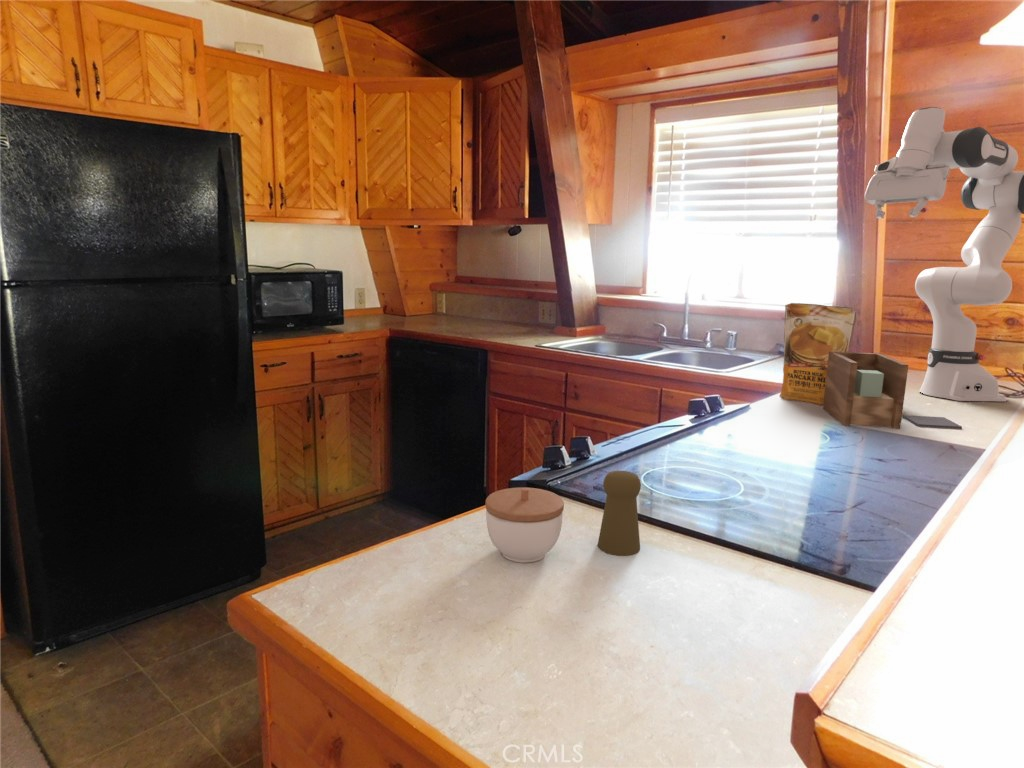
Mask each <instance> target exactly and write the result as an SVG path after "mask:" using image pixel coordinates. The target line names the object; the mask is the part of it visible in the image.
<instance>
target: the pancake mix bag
mask: <svg viewBox="0 0 1024 768" xmlns="http://www.w3.org/2000/svg"><path fill="white" fill-rule="evenodd" d="M784 308H785V309H784V311H785V312H784V314H785V315H784V334H783V335H784V336H783V368H782V369H783V370H782V371H783V372H782V373H783V378H782V384H781V385H782V386H781V390H780V393H779V397H780V398H783V399H785V400H788V401H794V402H798V403H799V402H800V403H805V404H812V405H817V406H823V403H824V394H825V384H826V375H827V366H828V357H829V351H830V352H849V351H850V348H851V343H852V338H853V333H854V328H855V325H856V321H857V311H856V310H855V311H853V307H848V306H835V305H834V306H832V305H825V304H815V303H800V302H799V303H798V302H796V303H795V302H790V303H787V304H785V305H784Z"/></svg>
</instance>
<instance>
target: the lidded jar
mask: <svg viewBox="0 0 1024 768" xmlns="http://www.w3.org/2000/svg"><path fill="white" fill-rule="evenodd" d="M564 505H565V501H564V500H563V498H562V497H561V496H559V495H558V494H556V493H555V492H552V491H549V490H546V489H542V488H534V487H510V488H504V489H503V488H502V489H500V490H496V491H494V492H492V493H490V494H489V495H488V496H487V498H486V499H485V510H486V513H485V514H486V515H485V516H486V519H485V521H486V526H487V527H486V528H487V532H488V536H489V539H490V540H491V542H492V544H493V545H494V547H495V548H496V549H497V550H498V551H499V552H500V553H501V556H502V557H503V558H505V559H506V560H507V561H511V562H514V563H520V564H521V563H522V564H523V563H524V564H527V563H534V562H538V561H540V560H542V559H544V558H545V556H546V554H547V553H549V552H550V551H551V550H552V549H553V547H554V546H555V545H556V544H557V542H558V540H559V537H560V533H561V530H562V525H563V515H564V514H563V512H564V508H565V506H564Z"/></svg>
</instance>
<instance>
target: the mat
mask: <svg viewBox="0 0 1024 768" xmlns="http://www.w3.org/2000/svg"><path fill="white" fill-rule="evenodd" d="M902 418H903V419H905V420H907V421H908V422H910V423H911V424H913V425H915V426H916V427H920V428H921V427H922V428H937V429H956V430H957V429H958V430H962V429H963V426H962V425H959V424H958V423H956V422H954V421H952V420H951V419H948V418H946V417H943V416H931V415H930V416H929V415H928V416H927V415H906V414H902Z"/></svg>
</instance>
